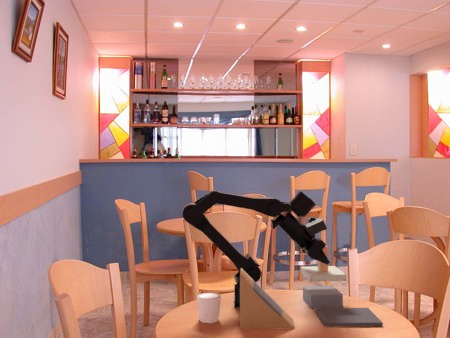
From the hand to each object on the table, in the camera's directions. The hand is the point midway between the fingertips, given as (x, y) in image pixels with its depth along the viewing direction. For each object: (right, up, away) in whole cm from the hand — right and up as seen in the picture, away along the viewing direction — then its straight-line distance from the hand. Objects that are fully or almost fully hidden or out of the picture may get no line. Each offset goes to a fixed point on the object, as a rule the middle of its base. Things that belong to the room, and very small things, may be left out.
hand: (327, 262), depth 155 cm
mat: (+3, -13, -14) cm, 20 cm away
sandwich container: (-21, -14, -18) cm, 31 cm away
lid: (-1, -5, 0) cm, 5 cm away
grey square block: (-2, -13, +1) cm, 13 cm away
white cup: (-37, -14, -15) cm, 42 cm away
